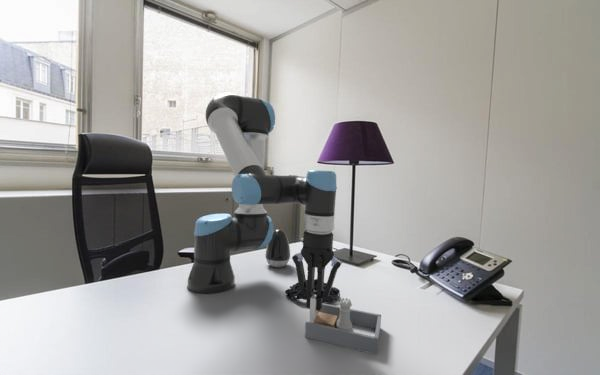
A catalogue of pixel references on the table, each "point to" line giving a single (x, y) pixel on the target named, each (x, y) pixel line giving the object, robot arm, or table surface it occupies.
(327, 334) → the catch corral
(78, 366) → the table surface
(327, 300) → the cable
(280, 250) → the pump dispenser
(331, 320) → the walnut tile
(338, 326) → the rook chess piece
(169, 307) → the table surface
